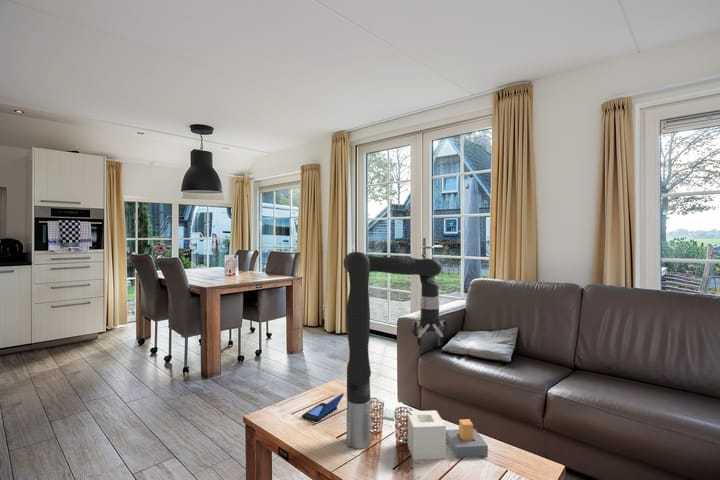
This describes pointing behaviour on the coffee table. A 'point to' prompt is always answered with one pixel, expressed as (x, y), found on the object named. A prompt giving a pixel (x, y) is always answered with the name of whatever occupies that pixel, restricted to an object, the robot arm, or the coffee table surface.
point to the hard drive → (389, 414)
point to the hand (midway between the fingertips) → (429, 345)
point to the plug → (465, 430)
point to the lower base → (466, 445)
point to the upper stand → (426, 435)
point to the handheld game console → (322, 410)
